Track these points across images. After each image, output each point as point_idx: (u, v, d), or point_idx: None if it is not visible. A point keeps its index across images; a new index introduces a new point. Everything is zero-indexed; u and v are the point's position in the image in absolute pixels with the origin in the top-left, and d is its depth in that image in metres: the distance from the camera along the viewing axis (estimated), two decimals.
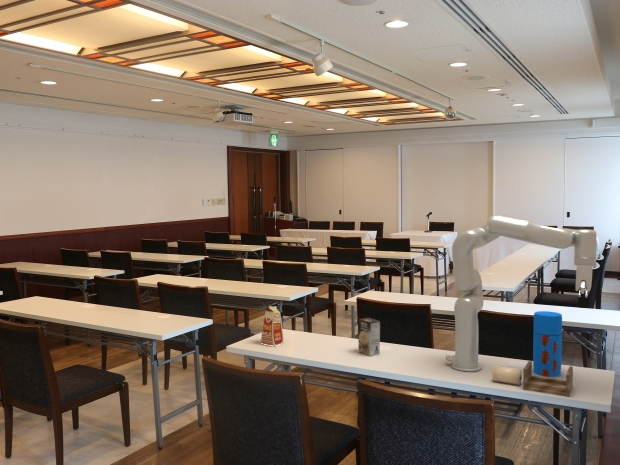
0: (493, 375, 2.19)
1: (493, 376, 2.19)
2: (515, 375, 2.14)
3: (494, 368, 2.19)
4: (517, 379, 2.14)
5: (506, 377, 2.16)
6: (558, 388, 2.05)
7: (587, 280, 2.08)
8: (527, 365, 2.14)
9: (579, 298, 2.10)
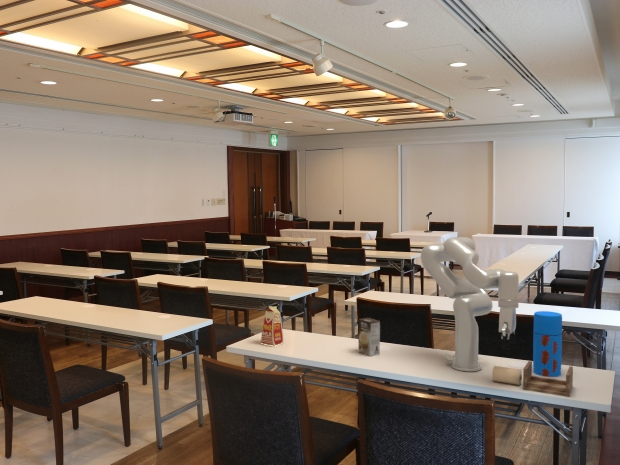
0: (493, 375, 2.18)
1: (493, 376, 2.18)
2: (515, 375, 2.14)
3: (494, 368, 2.19)
4: (517, 379, 2.14)
5: (506, 377, 2.16)
6: (558, 388, 2.05)
7: (509, 322, 2.12)
8: (527, 365, 2.14)
9: (502, 340, 2.14)
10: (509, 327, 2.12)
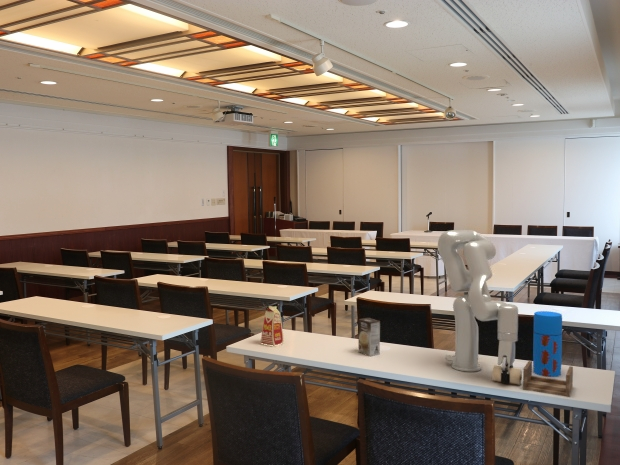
0: (493, 375, 2.18)
1: (493, 376, 2.19)
2: (515, 375, 2.14)
3: (494, 368, 2.19)
4: (517, 379, 2.14)
5: None
6: (558, 388, 2.05)
7: (508, 355, 2.13)
8: (527, 365, 2.14)
9: (502, 374, 2.16)
10: (508, 360, 2.13)
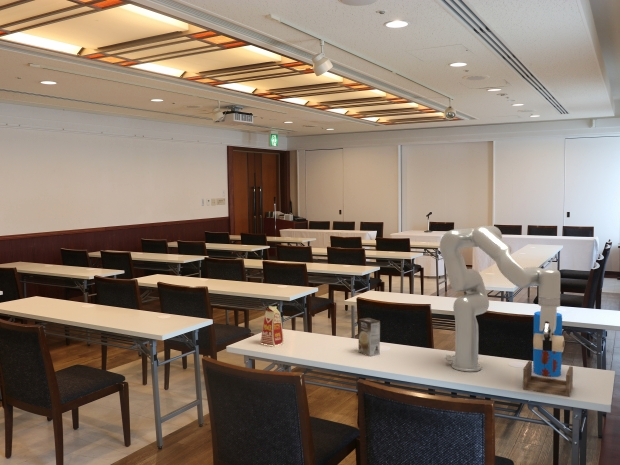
0: (534, 342, 2.10)
1: (534, 344, 2.10)
2: (558, 342, 2.06)
3: (535, 335, 2.11)
4: (560, 346, 2.06)
5: None
6: (558, 388, 2.05)
7: (550, 321, 2.05)
8: (527, 365, 2.14)
9: (543, 341, 2.08)
10: (551, 326, 2.05)
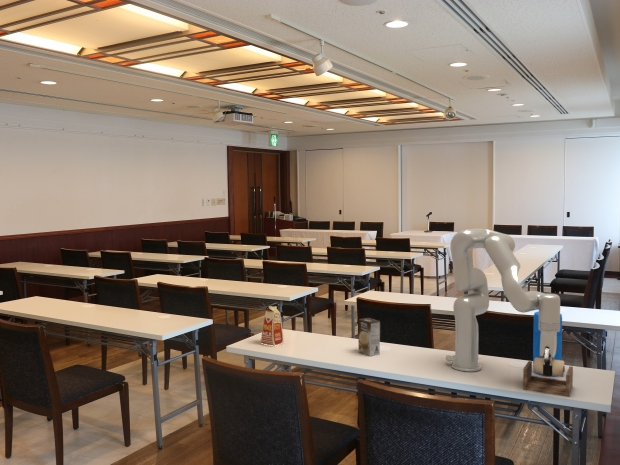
0: (534, 367, 2.11)
1: (534, 368, 2.11)
2: (558, 367, 2.07)
3: (535, 360, 2.12)
4: (560, 371, 2.06)
5: None
6: (558, 388, 2.05)
7: (550, 346, 2.06)
8: (527, 365, 2.14)
9: (544, 366, 2.08)
10: (551, 351, 2.06)
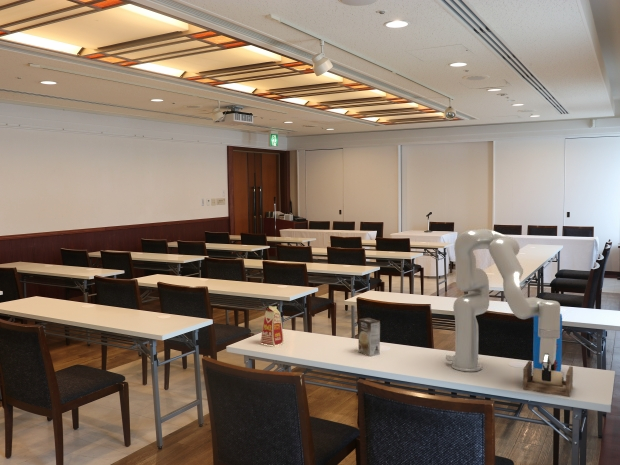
0: (534, 378, 2.11)
1: (534, 379, 2.11)
2: (557, 378, 2.07)
3: (534, 371, 2.12)
4: (559, 382, 2.07)
5: None
6: (558, 388, 2.05)
7: (550, 353, 2.06)
8: (527, 365, 2.14)
9: (542, 371, 2.07)
10: (550, 358, 2.06)
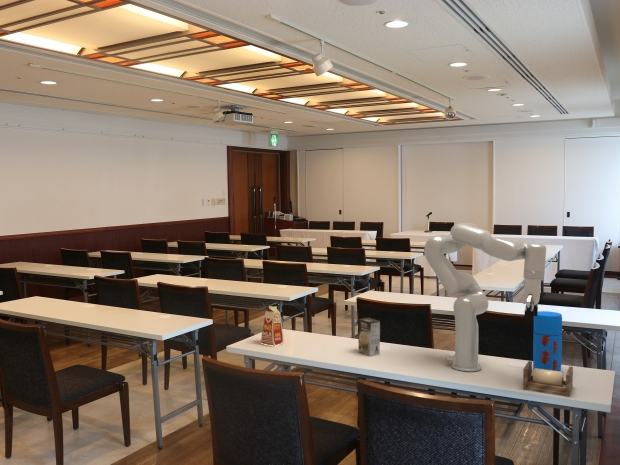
0: (534, 378, 2.11)
1: (534, 379, 2.11)
2: (557, 378, 2.07)
3: (534, 371, 2.12)
4: (559, 382, 2.07)
5: (548, 380, 2.09)
6: (558, 388, 2.05)
7: (533, 294, 2.11)
8: (527, 365, 2.14)
9: (525, 311, 2.13)
10: (533, 299, 2.11)
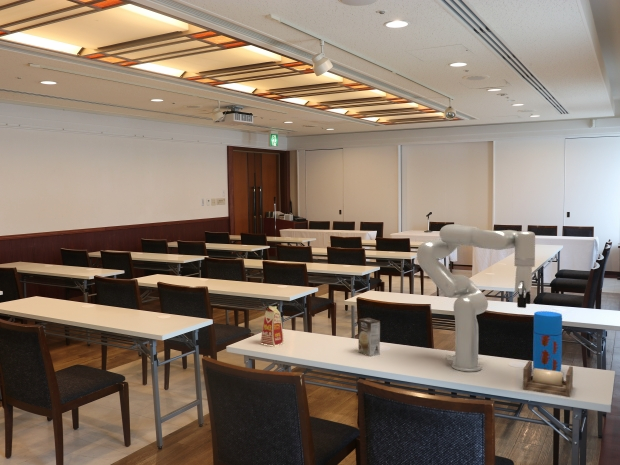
0: (534, 378, 2.11)
1: (534, 379, 2.11)
2: (557, 378, 2.07)
3: (534, 371, 2.12)
4: (559, 382, 2.07)
5: (548, 380, 2.09)
6: (558, 388, 2.05)
7: (525, 280, 2.14)
8: (527, 365, 2.14)
9: (518, 298, 2.15)
10: (525, 285, 2.14)
